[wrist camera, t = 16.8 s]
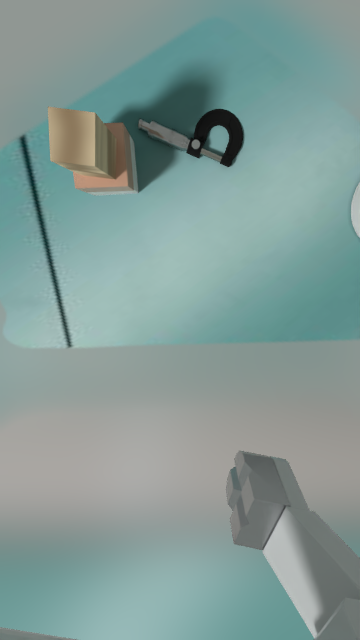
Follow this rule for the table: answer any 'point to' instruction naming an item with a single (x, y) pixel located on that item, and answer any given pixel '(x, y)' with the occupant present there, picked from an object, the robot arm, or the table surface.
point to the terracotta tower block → (122, 166)
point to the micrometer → (200, 135)
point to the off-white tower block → (133, 176)
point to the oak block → (82, 143)
